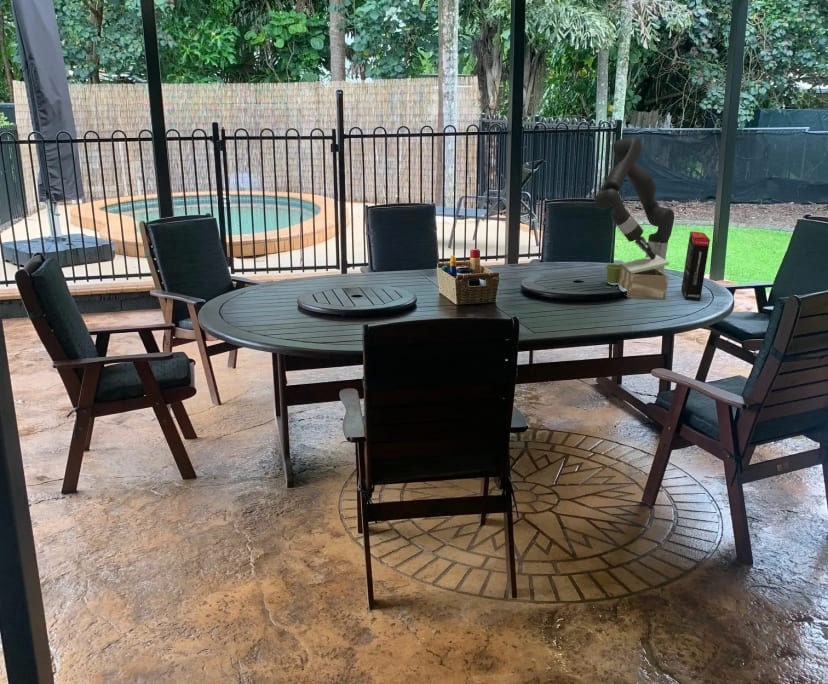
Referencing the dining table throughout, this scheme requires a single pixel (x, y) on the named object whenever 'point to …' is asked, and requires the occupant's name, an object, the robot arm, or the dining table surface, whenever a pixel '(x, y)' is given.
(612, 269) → the plant pot
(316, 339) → the dining table surface
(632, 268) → the box lid
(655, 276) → the plywood box
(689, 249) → the graphics card box
